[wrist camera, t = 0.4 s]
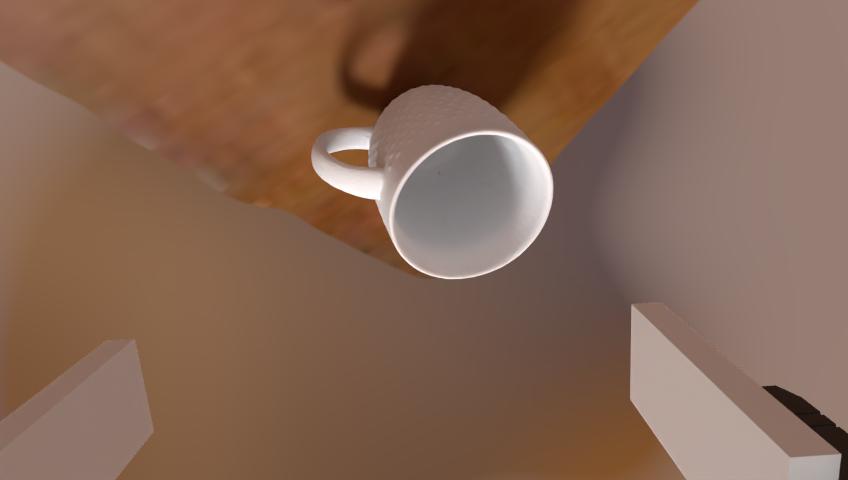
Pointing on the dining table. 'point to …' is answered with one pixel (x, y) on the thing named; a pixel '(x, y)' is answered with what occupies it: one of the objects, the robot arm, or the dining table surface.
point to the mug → (446, 180)
